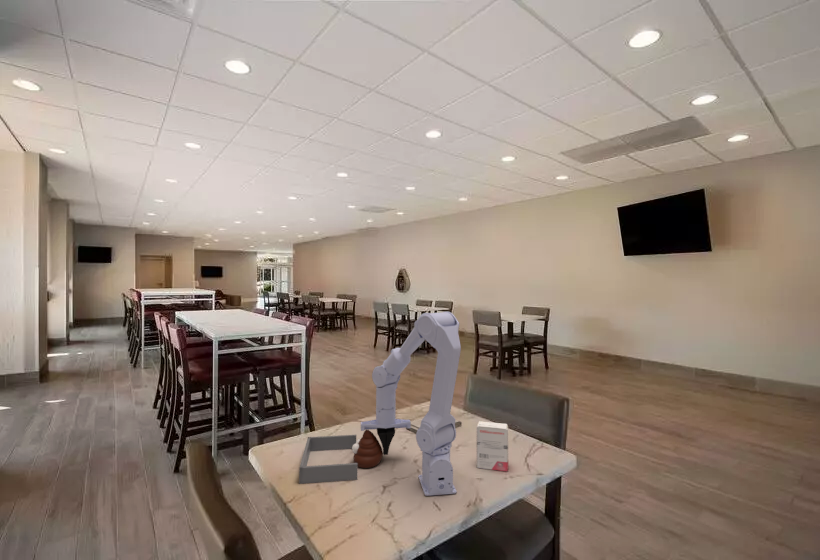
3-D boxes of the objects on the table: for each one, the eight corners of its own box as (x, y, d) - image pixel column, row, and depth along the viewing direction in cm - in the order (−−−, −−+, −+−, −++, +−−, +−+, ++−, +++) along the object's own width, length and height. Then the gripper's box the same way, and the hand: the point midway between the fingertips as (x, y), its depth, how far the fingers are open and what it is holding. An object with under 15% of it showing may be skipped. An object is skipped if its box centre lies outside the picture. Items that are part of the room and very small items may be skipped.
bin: (357, 479, 99) (357, 464, 99) (299, 483, 96) (299, 468, 97) (356, 447, 119) (356, 434, 119) (307, 450, 116) (307, 437, 116)
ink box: (508, 464, 108) (508, 423, 108) (508, 472, 103) (508, 429, 103) (477, 460, 110) (478, 419, 110) (476, 468, 106) (476, 425, 106)
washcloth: (403, 430, 134) (403, 421, 134) (438, 418, 146) (438, 410, 146) (427, 440, 125) (427, 431, 125) (462, 427, 137) (462, 418, 137)
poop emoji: (377, 470, 104) (377, 436, 104) (347, 467, 105) (348, 434, 105) (386, 454, 113) (386, 423, 114) (359, 452, 115) (359, 421, 115)
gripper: (408, 401, 115) (407, 446, 115) (360, 403, 113) (360, 448, 113) (411, 409, 108) (411, 456, 108) (361, 411, 106) (360, 459, 106)
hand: (385, 453), depth 110 cm, fingers closed
